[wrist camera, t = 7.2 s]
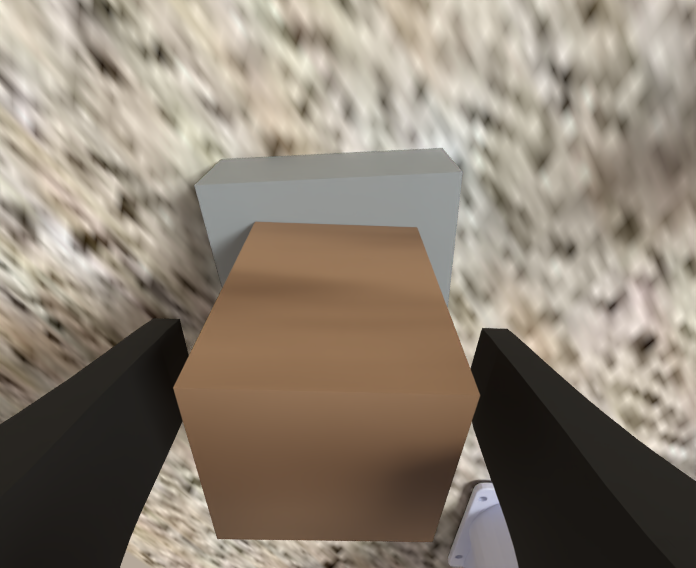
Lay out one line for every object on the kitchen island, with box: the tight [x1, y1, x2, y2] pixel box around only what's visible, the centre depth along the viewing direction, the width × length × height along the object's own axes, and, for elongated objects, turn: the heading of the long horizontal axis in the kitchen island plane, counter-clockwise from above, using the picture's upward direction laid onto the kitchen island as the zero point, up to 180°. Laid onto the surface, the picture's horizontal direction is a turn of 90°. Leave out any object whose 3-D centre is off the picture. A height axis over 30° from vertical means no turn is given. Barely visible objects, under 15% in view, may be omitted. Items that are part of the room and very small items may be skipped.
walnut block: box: [173, 222, 480, 542], centre depth 9 cm, size 4×4×6 cm
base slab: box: [194, 148, 463, 308], centre depth 13 cm, size 7×7×3 cm
